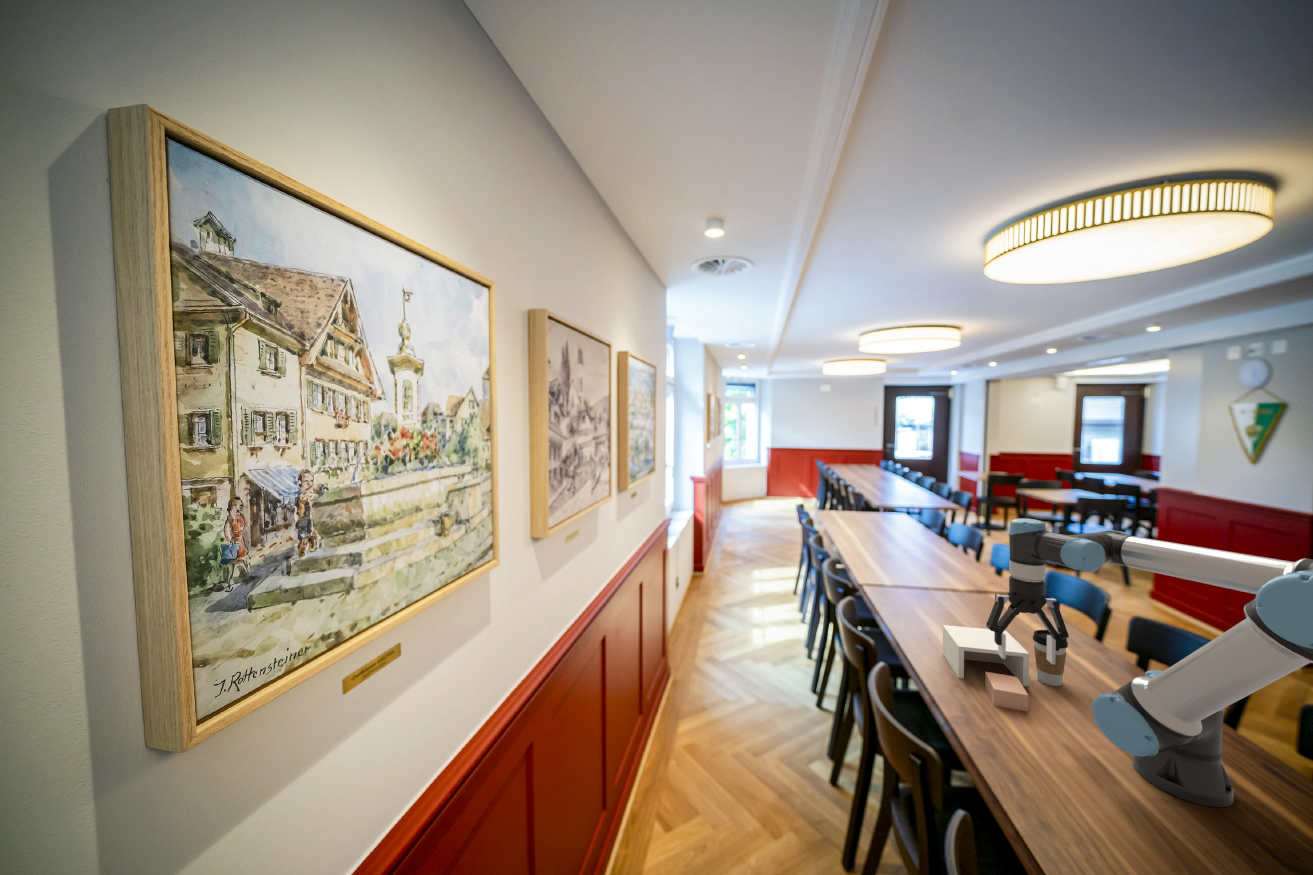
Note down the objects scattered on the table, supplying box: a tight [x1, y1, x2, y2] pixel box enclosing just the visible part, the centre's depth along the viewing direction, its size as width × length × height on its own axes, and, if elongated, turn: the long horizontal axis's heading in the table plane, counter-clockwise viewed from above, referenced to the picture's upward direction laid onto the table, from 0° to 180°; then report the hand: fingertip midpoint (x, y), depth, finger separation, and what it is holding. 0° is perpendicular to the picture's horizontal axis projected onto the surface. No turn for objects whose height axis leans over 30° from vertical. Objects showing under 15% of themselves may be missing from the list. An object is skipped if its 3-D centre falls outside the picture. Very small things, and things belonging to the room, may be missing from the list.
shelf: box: [942, 624, 1030, 687], centre depth 153 cm, size 16×19×10 cm
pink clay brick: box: [984, 671, 1029, 712], centre depth 137 cm, size 10×8×5 cm
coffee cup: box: [1032, 629, 1069, 687], centre depth 146 cm, size 8×8×15 cm
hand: (1026, 658), depth 125 cm, fingers open, 10 cm apart
